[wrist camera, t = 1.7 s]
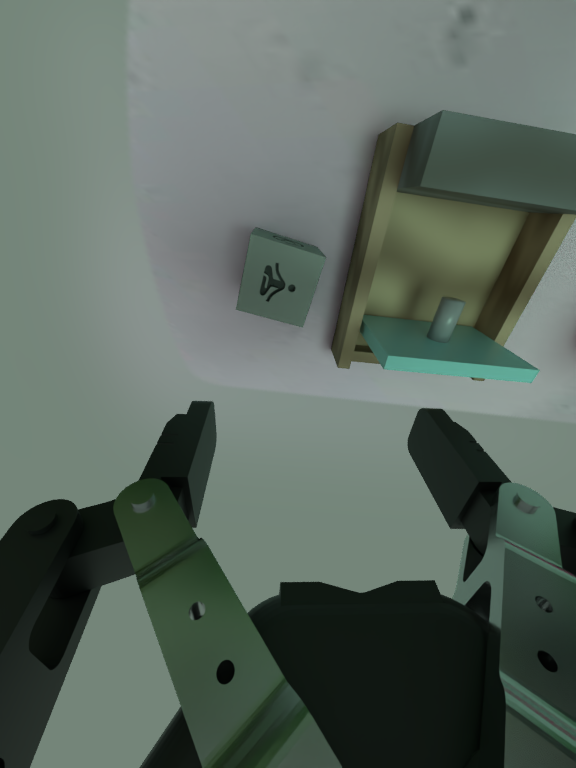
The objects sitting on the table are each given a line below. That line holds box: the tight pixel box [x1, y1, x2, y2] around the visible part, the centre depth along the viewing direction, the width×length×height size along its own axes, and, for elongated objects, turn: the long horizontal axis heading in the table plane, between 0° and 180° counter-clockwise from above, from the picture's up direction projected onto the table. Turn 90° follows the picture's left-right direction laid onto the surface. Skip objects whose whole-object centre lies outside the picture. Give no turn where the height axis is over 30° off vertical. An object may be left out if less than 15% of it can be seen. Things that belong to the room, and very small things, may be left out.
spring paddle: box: [359, 297, 540, 383], centre depth 22 cm, size 4×11×8 cm, turn 83°
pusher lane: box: [331, 110, 576, 381], centre depth 21 cm, size 16×14×7 cm
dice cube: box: [236, 228, 326, 327], centre depth 22 cm, size 5×5×5 cm
